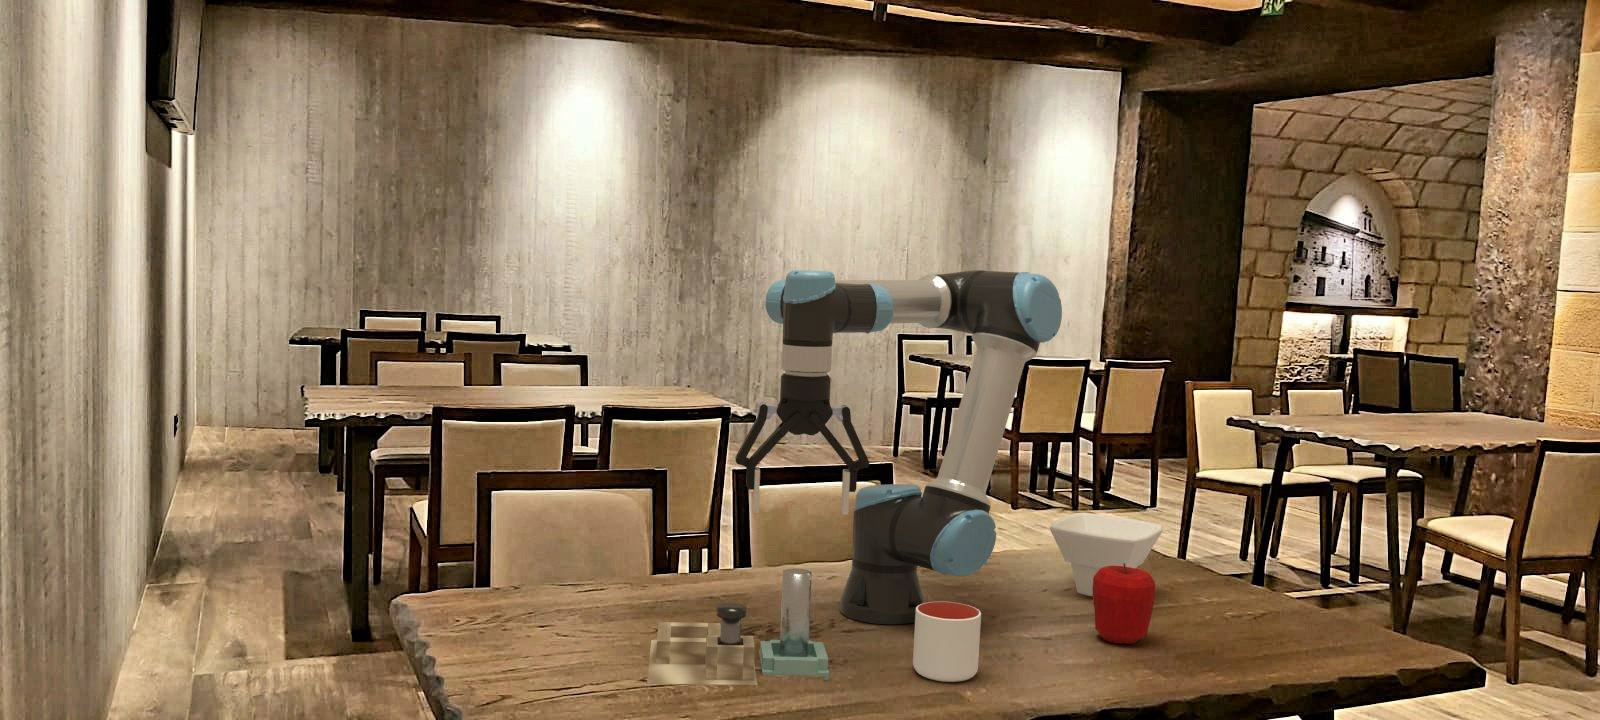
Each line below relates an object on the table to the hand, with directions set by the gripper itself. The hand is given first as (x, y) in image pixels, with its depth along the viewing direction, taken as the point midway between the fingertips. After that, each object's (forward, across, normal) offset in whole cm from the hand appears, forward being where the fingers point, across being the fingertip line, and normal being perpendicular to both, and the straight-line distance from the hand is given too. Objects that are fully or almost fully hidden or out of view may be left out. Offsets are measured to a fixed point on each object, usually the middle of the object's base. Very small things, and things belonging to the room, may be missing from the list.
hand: (800, 512), depth 195 cm
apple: (+25, -57, -17) cm, 65 cm away
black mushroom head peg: (+23, +10, +5) cm, 25 cm away
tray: (+24, 0, 0) cm, 25 cm away
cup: (+25, -23, +1) cm, 34 cm away
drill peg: (+23, 0, 0) cm, 23 cm away
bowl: (+25, -63, -45) cm, 82 cm away
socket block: (+24, +15, -1) cm, 28 cm away
